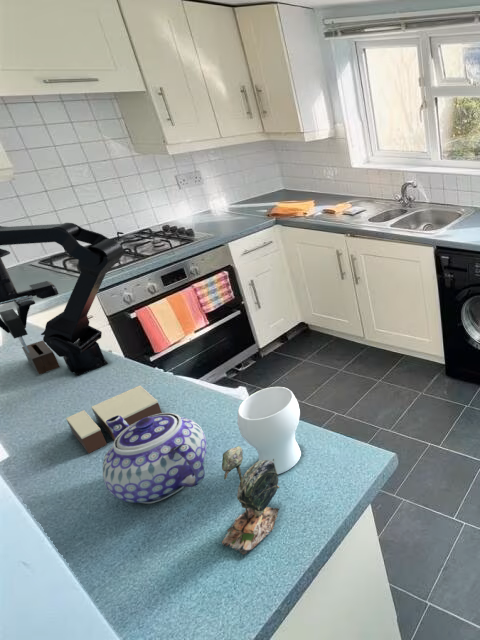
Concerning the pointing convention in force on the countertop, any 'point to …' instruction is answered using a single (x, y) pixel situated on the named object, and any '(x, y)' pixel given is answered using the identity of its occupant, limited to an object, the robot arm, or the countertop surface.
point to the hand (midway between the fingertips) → (16, 330)
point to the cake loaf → (126, 407)
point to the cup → (271, 426)
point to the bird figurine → (251, 501)
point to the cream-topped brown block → (86, 431)
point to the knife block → (41, 357)
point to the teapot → (154, 457)
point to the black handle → (14, 325)
